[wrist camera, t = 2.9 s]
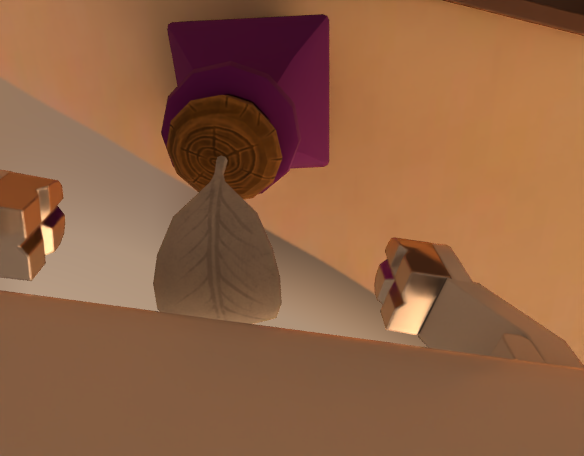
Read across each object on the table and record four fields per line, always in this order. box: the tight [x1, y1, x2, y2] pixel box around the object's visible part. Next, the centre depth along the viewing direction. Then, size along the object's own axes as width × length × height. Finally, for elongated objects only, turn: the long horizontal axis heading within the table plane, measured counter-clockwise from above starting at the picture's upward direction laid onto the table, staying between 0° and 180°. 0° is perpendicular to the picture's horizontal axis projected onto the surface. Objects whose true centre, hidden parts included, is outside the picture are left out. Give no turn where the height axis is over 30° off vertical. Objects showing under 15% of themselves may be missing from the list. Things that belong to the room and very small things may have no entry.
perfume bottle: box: [153, 14, 329, 324], centre depth 17 cm, size 8×8×18 cm
